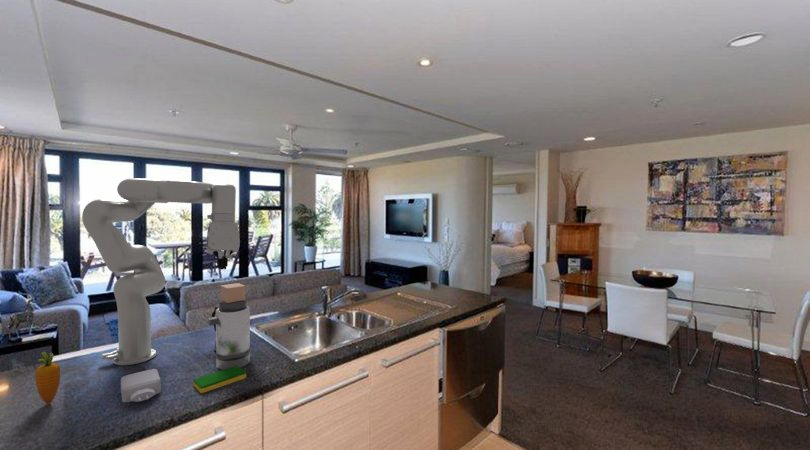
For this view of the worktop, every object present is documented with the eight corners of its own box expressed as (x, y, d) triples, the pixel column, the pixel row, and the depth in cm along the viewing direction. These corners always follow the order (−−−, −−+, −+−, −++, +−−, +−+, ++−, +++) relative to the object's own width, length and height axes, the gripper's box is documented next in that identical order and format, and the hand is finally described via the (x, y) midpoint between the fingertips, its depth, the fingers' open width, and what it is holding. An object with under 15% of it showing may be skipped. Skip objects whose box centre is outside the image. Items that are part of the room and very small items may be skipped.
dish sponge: (246, 378, 117) (246, 371, 117) (201, 394, 107) (201, 387, 107) (237, 372, 122) (237, 365, 122) (193, 386, 112) (192, 379, 112)
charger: (123, 413, 96) (121, 391, 108) (163, 402, 102) (157, 382, 114) (122, 397, 96) (120, 376, 107) (163, 386, 102) (157, 367, 113)
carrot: (62, 403, 100) (60, 352, 99) (36, 411, 96) (34, 357, 96) (60, 397, 103) (58, 347, 103) (35, 404, 100) (34, 352, 99)
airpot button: (227, 303, 122) (227, 288, 122) (220, 299, 127) (220, 285, 126) (245, 300, 127) (245, 285, 127) (238, 296, 131) (238, 283, 131)
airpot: (215, 375, 118) (214, 296, 117) (204, 364, 126) (203, 290, 125) (255, 363, 128) (255, 289, 127) (242, 353, 136) (242, 284, 134)
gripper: (203, 218, 119) (202, 272, 120) (248, 219, 130) (247, 268, 130) (197, 217, 124) (196, 269, 125) (240, 218, 135) (239, 265, 136)
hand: (222, 268), depth 128 cm, fingers closed
